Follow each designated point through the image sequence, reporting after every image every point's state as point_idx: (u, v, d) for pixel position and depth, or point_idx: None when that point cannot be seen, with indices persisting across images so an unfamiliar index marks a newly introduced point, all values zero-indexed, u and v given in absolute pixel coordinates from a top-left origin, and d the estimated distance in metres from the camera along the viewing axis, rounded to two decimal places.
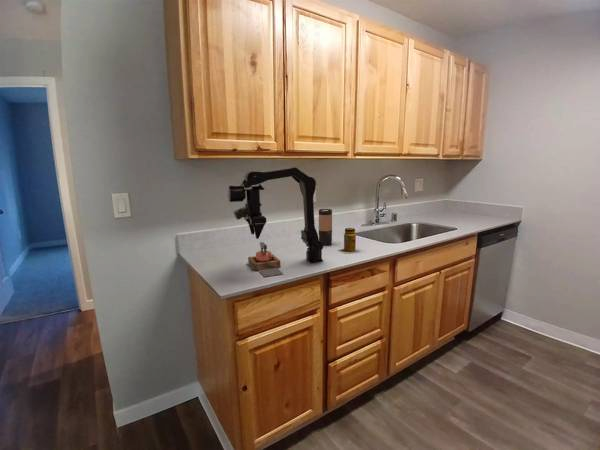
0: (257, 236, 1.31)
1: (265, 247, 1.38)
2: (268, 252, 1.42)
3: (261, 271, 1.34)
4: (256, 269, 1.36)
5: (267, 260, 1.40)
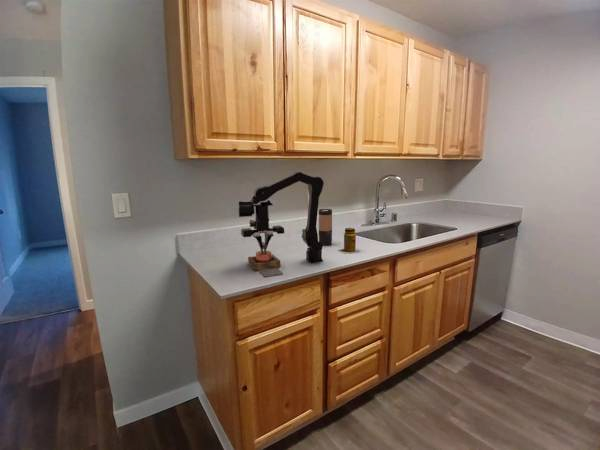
0: (260, 247, 1.41)
1: (265, 247, 1.38)
2: (268, 252, 1.42)
3: (261, 271, 1.34)
4: (256, 269, 1.36)
5: (267, 260, 1.40)
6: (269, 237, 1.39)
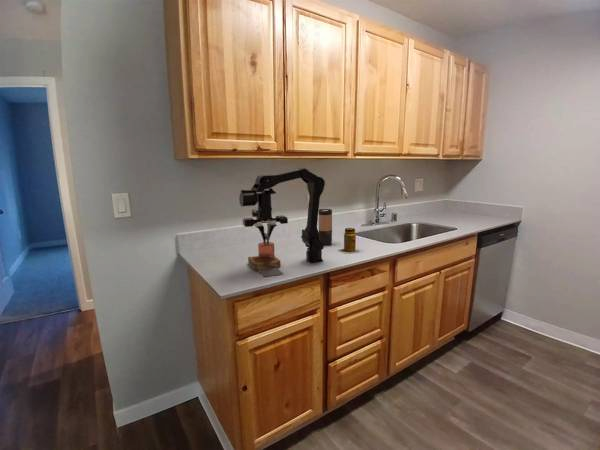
0: None
1: (268, 238, 1.32)
2: (271, 243, 1.36)
3: (261, 271, 1.34)
4: (256, 269, 1.36)
5: (270, 251, 1.34)
6: (272, 227, 1.33)
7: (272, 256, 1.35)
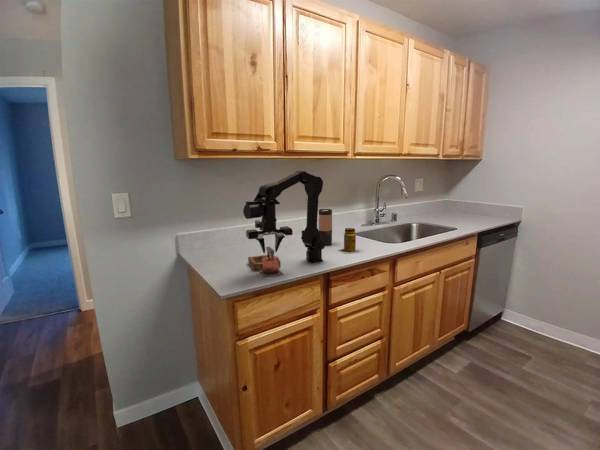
0: None
1: (272, 252, 1.28)
2: (275, 257, 1.32)
3: (261, 271, 1.34)
4: (256, 269, 1.36)
5: (274, 266, 1.29)
6: (280, 238, 1.29)
7: (277, 271, 1.31)
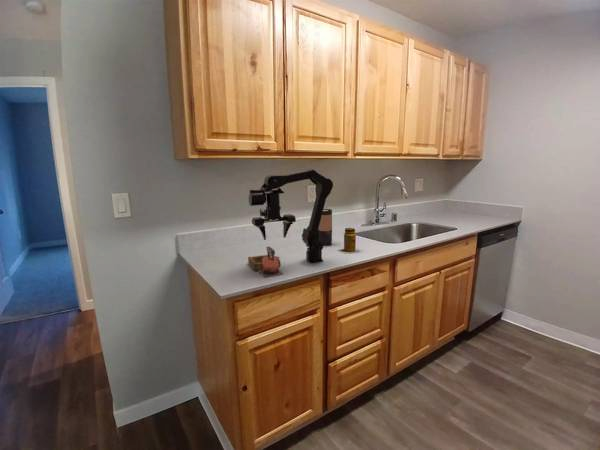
0: (263, 237, 1.37)
1: (273, 252, 1.28)
2: (275, 257, 1.32)
3: (261, 271, 1.34)
4: (256, 269, 1.36)
5: (275, 266, 1.29)
6: (288, 225, 1.38)
7: (277, 271, 1.31)
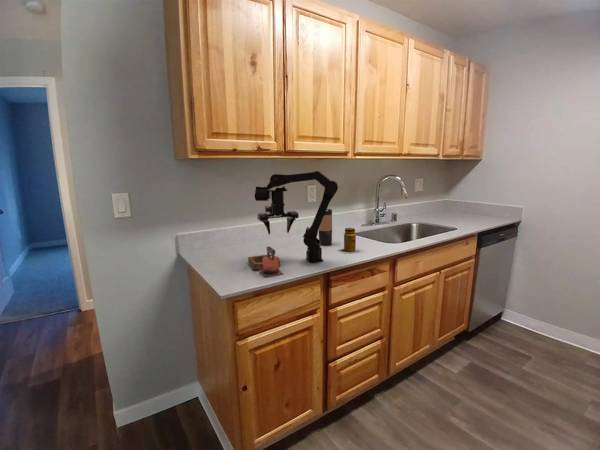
0: (268, 232, 1.46)
1: (273, 252, 1.28)
2: (276, 257, 1.32)
3: (261, 271, 1.34)
4: (256, 269, 1.36)
5: (275, 266, 1.30)
6: (292, 221, 1.47)
7: (277, 270, 1.31)
